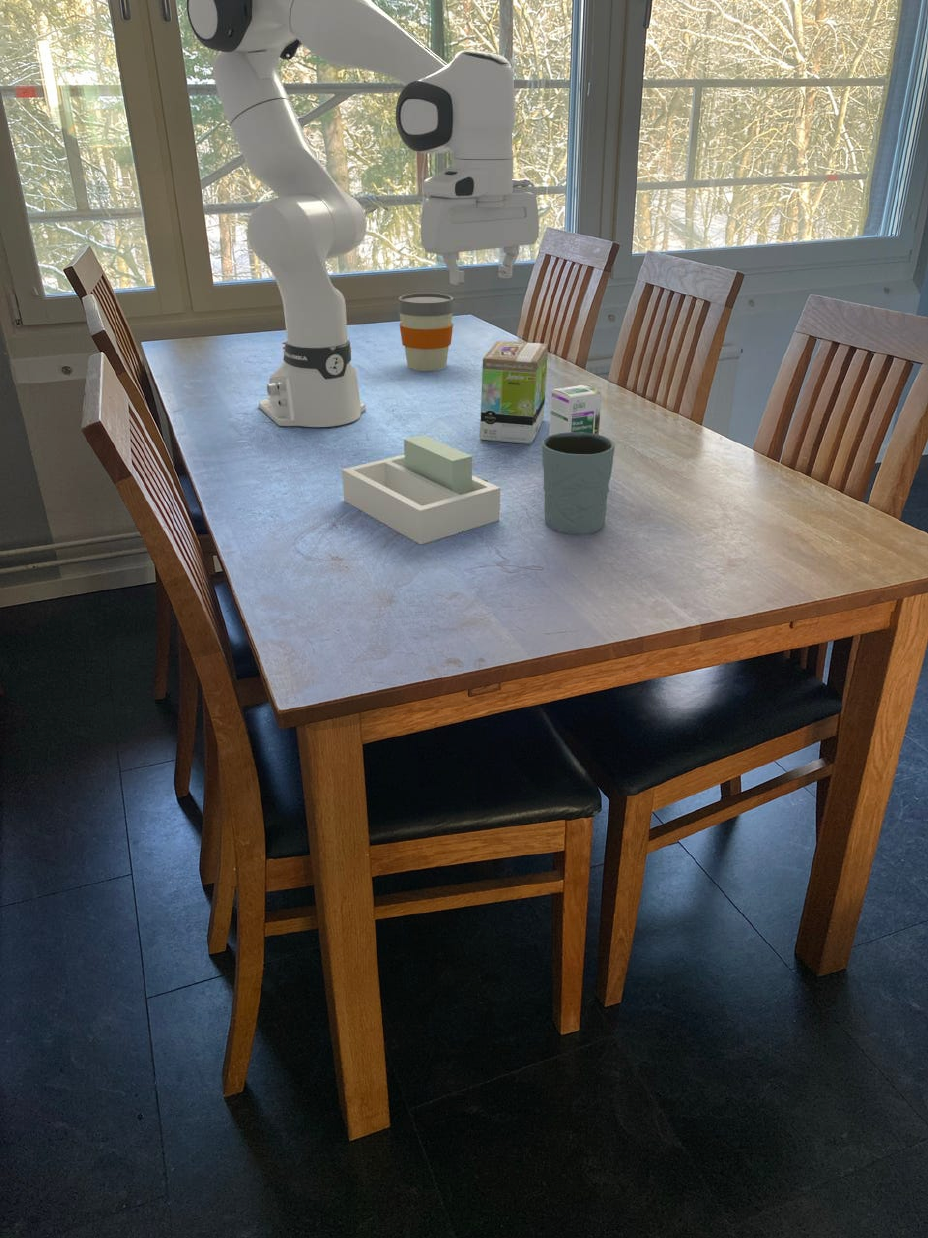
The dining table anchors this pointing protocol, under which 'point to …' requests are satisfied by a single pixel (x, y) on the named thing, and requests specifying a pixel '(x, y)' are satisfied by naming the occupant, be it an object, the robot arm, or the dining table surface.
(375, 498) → the divided cream tray
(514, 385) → the tea box
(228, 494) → the dining table surface
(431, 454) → the long pale green block
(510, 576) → the dining table surface
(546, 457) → the gray green embossed cup
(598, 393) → the syrup box
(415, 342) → the reusable coffee cup
